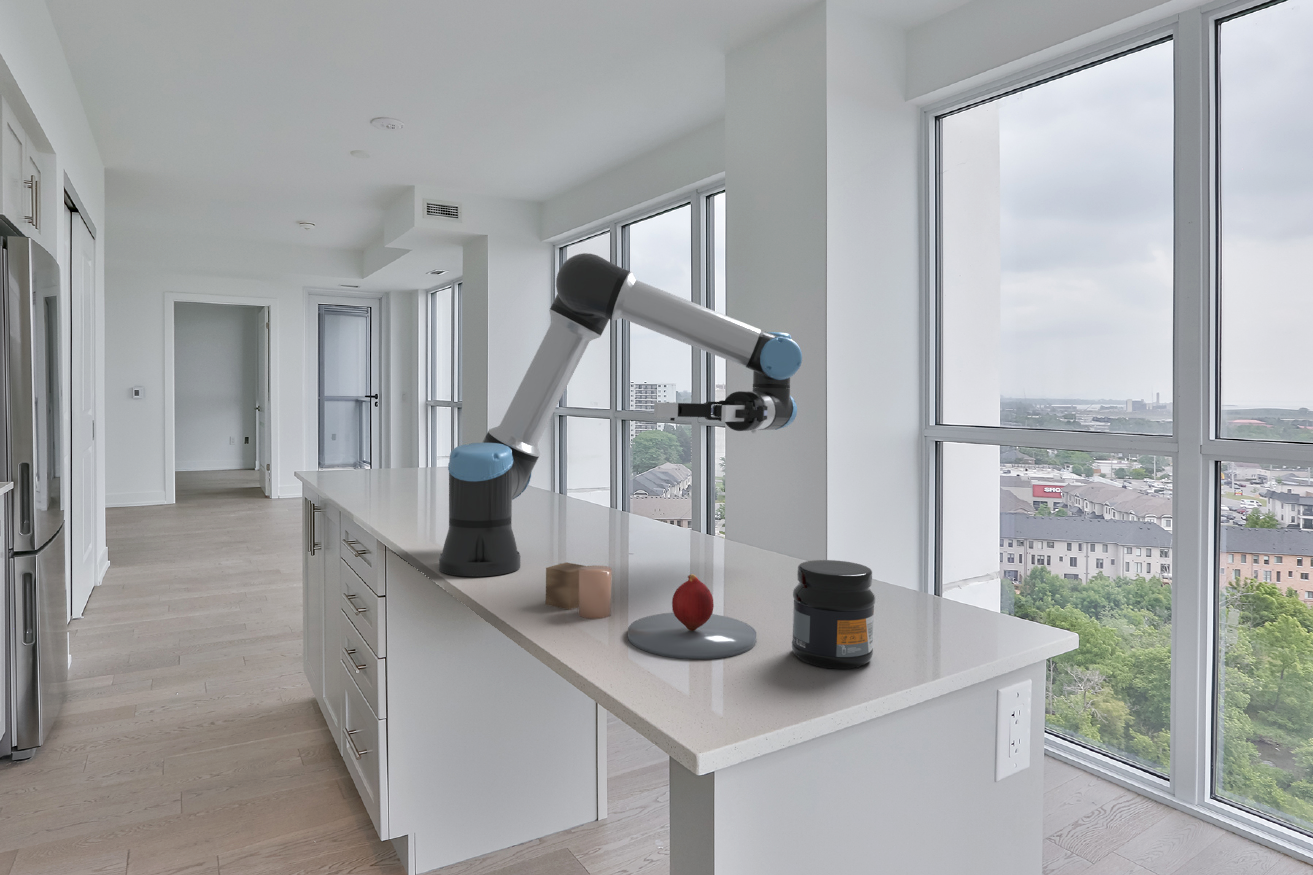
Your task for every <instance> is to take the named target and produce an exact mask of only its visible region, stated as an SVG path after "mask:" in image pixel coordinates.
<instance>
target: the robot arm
mask: <svg viewBox="0 0 1313 875" xmlns="http://www.w3.org/2000/svg"><path fill="white" fill-rule="evenodd" d="M555 279H556V280H555V283H556V284H555V286H556V293H557V294H556V297H554V300H553V302H552V304H551V306H550V308H549V314H550V318H551V323H550V325H549V327H548V329H547V330H546V333H545V335H544V336H543V339H542V340H541V343H540V345H539V346H538V349H537V351H536V352H535V355H534V357H533V359H532V361H531V362H530V365H529V366H528V368H527V370H526V372H525V374H524V376H523V378H522V381H521V382H520V384H519V386H518V389H517V390H516V392H515V394H514V396H513V398H512V400H511V402H510V404H509V406H508V408H507V410H506V411H505V414H504V416H503V418H502V420H501V421H500V424H499V425H498V426H495V427H492V428H489V429H488V431H487V433H486V434H485V437H484V439H483V441H482V442H472V443H469V444H462V445H461V444H460V445H458V446H456V447H454V448H453V449H452V450H451V451H450V454H449V460H448V461H449V462H448V466H447V470H448V531H447V534H446V537H445V540H444V544H443V548H442V552H441V553H440V555H439V557H438V558H439V559H438V571H440V572H441V573H444V574H447V575H452V576H457V577H458V576H459V577H491V576H500V575H506V574H510V573H513V572H516V571H518V570H519V569H520V568H521V554H520V551H518V547H517V541H516V539H515V535H514V532H513V528H512V526H513V525H512V524H513V523H512V514H513V513H512V512H513V511H512V510H513V509H512V508H513V506H512V505H513V500H514V499H517V498H518V497H520V496H521V494H523V493H524V492H525V490H526V489H527V488H528V486H529V485H530V482H531V479H532V478H531V477H532V473H533V472H532V471H533V470H534V467H535V465H536V464H537V462H538V459H539V458H540V455H541V453H540V449H539V447H538V443H539V441H540V439H541V438H542V436H543V433H544V432H545V430H546V428H547V427H548V424H549V422H550V420H551V418H552V416H553V414H554V412H555V410H556V409H557V406H558V404H559V403H560V401H561V398H562V396H563V395H564V393H565V390H566V388H567V387H568V385H569V383H570V381H571V379H572V377H573V375H574V373H575V371H576V369H577V368H578V366H579V363H580V361H581V360H582V357H583V355H584V353H585V351H586V349H587V348H588V346H589V344H590V342H591V341H593V340H596V339H599V338H601V337H602V334H603V333H604V331H605V329H606V327H607V325H608V322H609V321H610V320H611V321H613V322H614V321H617V320H620V319H623V320H625V321H628V322H630V323H633V324H635V325H638V326H640V327H643V328H646V329H648V330H650V331H653V332H656V333H659V334H660V335H664V336H665V337H668V338H671V339H673V340H675V341H679V342H681V343H683V344H686V345H689V346H691V347H694V348H697V349H698V350H702V351H703V352H706V353H708V354H711V355H713V356H717V357H719V358H722V359H724V360H727V361H729V362H732V363H735V364H736V365H739V366H742V367H745V368H746V369H749V370H752V372H753V373H752V374H753V376H752V379H753V380H752V391H749V390H748V391H735V392H731V393H730V394H728V395H727V397H726V398H725V399H724V400H719V401H710V400H709V401H706V402H703V403H695V402H694V403H692V402H690V403H688V402H675V401H674V402H670V401H666V402H662V401H661V402H657V401H655V402H654V403H653V408H654V409H653V419H670V421H675V419H676V418H680V417H681V418H705V420H709V421H719V422H722V423H723V422H724V424H725V425H726V426H727V427H728V428H729V429H731V430H733V431H737V432H748V431H751V434H756V433H757V431H767V430H768V431H769V430H770V431H771V430H773V431H774V430H780V429H784V428H787V427H788V426H790V425H792V423H793V422H794V421H795V419H796V417H797V414H798V406H797V403H796V401H795V399H794V398H793V396H791V378H792V377H793V376H794V375H795V374H796V373H797V372H798V371H799V369H800V367H801V366H802V362H803V354H802V350H801V348H800V346H799V344H798V343H797V342H796V341H794V340H793V339H792V335H791V334H789V333H787V332H780V331H779V332H774V331H773V332H772V331H770V332H769V331H766V330H763V329H761V328H758V327H756V326H753V325H751V324H749V323H745V322H743V321H741V320H738V319H736V318H733V317H730V316H729V315H726V314H723V313H721V312H717V311H715V310H713V309H710V308H708V307H705V306H702V305H701V304H698V303H695V302H693V301H690V300H687V299H685V298H683V297H680V296H678V295H675V294H672V293H670V292H668V291H665V290H663V289H660V288H658V287H656V286H652V285H650V284H648V283H645V282H642V281H640V280H638V279H636V277H635V275H634V272H632V271H630V270H627V269H626V268H625V269H624V268H622V267H620V266H618V265H616V264H614V263H612V262H610V261H608V259H605V258H604V257H601V256H600V255H597V254H594V253H585V252H583V253H578V254H575V255H573V256H571V257H569V258H568V259H567V260H565V261H564V263H562V265H561V266H560V268H559V270H558V272H557V275H556V278H555Z"/></svg>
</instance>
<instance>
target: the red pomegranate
mask: <svg viewBox="0 0 1313 875" xmlns="http://www.w3.org/2000/svg"><path fill="white" fill-rule="evenodd" d="M687 578H688V579H687V581H685V582H683V583H682V584H680V586H678V587H677V588H676V590H675V592H674V593H673V596H672V601H671V605H672V607H671V608H672V613H674V615H675V617H676V618H677V619H678V620H679V621H680V622H681V623H682V624H684V625H685V626H686V627H687V629H688V630H690V631H694V630H696V629H697V628H699V627H700V626H702V625H703V624H705V623H706V622H707V621H708V620H709V618H710V617H711V615H712V614H713V612H714V607H715V606H714V598H713V594H712V592H711V591H710V589H709V588H708V586H707V585H706V584H705V583H703V582H702V581H700V579H698V577H697V576H696V575H695V574H692V573H691V574H689V575H687Z"/></svg>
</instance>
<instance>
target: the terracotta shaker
mask: <svg viewBox="0 0 1313 875" xmlns="http://www.w3.org/2000/svg"><path fill="white" fill-rule="evenodd" d="M612 576H613V574H612V568H611V567H609V566H606V565H584V567H581V568H579V601H578V607H577V608H578V609H577V610H578V612H577V614H578V616H579V617H582V618H585V619H590V620H591V619H593V620H594V619H596V620H597V619H599V620H600V619H605V618H608V617H610V616H611V615H612Z"/></svg>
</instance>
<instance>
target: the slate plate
mask: <svg viewBox="0 0 1313 875" xmlns="http://www.w3.org/2000/svg"><path fill="white" fill-rule="evenodd" d="M627 639H628V641H629V643H630V644H631V645H633V646H634V647H636V648H637V649H639V650H642V651H644V652H647V653H650V654H653V655H655V656H656V655H657V656H662V657H667V658H673V659H674V658H676V659H681V660H683V659H685V660H712V659H715V660H716V659H723V658H724V659H725V658H729V657H730V658H731V657H734V656H739V655H741V654H744V653H746V652H748V651H750V650H751V649H753V648H754V647H755V646H756V644H757V630H755V628H754V627H753V626H752V625H750V624H748V623H747V622H744V621H743V620H739V619H737V618H733V617H729V616H725V615H721V614H720V615H719V614H715V613H714V614H713V613H712V615H711V617H710V618H709V620H708V621H707V622H706V623H705V624H703V625H702V626H700V627H699V628H697V629H696V630H694V631H690V630H688V629H687V627H686V626H685V625H684V624H682V623H681V622H680V621H679V620H678V619H677V618H676V617H675V615H674V613H673V612H666V613H659V614H652V615H647V616H645V617H641V618H639V619H637V620H635V621H633V622H632V623H630V624H629V625H628V628H627Z"/></svg>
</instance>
